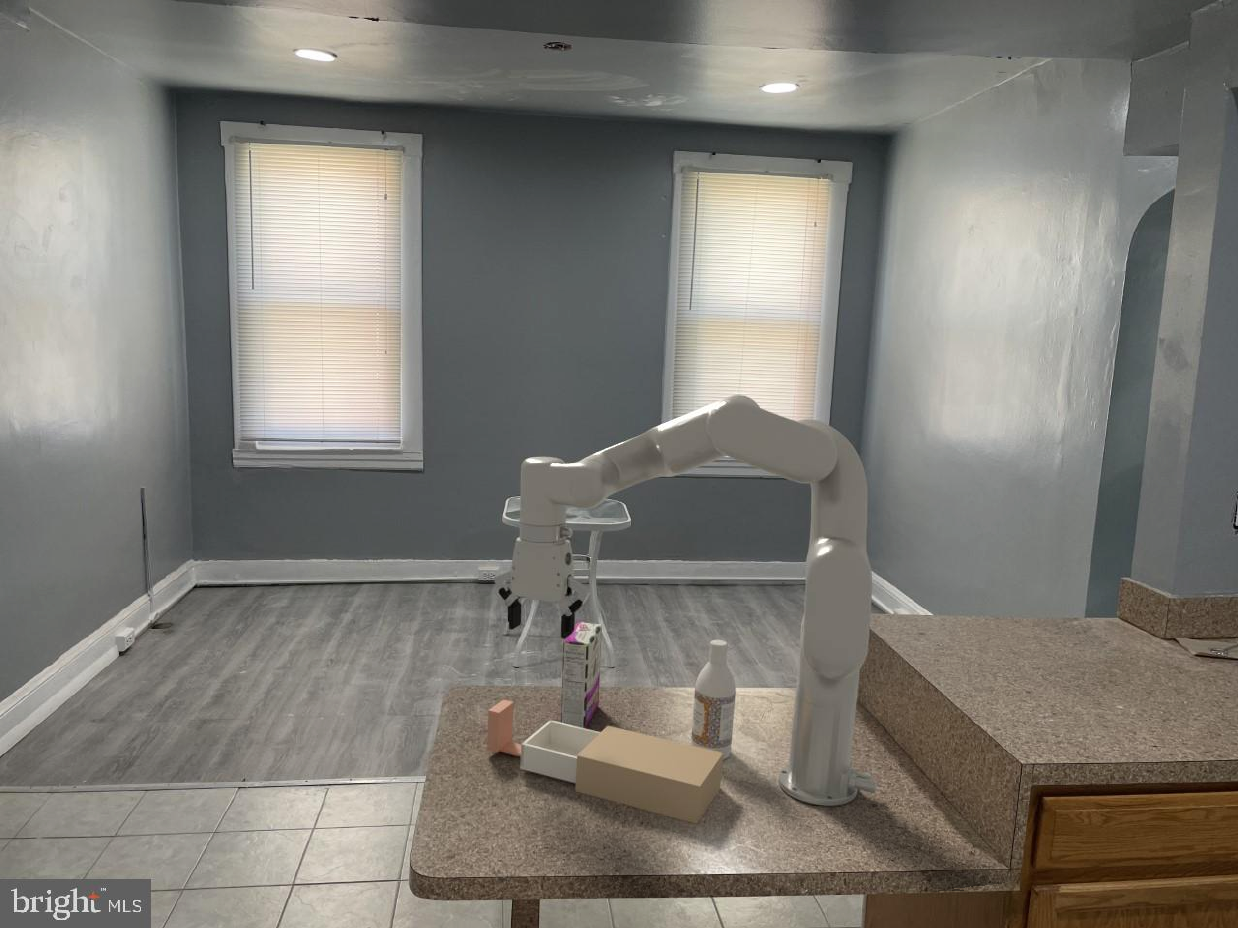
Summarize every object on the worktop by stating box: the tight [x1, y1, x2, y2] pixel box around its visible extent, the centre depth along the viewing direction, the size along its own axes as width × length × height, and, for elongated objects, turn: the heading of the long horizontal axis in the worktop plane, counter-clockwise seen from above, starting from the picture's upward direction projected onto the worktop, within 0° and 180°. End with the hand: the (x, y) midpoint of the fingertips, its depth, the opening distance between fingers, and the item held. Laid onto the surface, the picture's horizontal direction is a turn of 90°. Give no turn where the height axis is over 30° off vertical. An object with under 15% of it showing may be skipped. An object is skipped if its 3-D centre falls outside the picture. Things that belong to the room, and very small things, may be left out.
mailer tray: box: [486, 699, 602, 784], centre depth 152 cm, size 27×10×7 cm, turn 67°
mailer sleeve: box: [574, 725, 723, 825], centre depth 147 cm, size 20×12×6 cm, turn 67°
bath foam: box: [690, 639, 737, 761], centre depth 159 cm, size 7×7×20 cm
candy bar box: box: [560, 621, 603, 729], centre depth 171 cm, size 11×5×16 cm, turn 168°
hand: (540, 631), depth 156 cm, fingers open, 9 cm apart
